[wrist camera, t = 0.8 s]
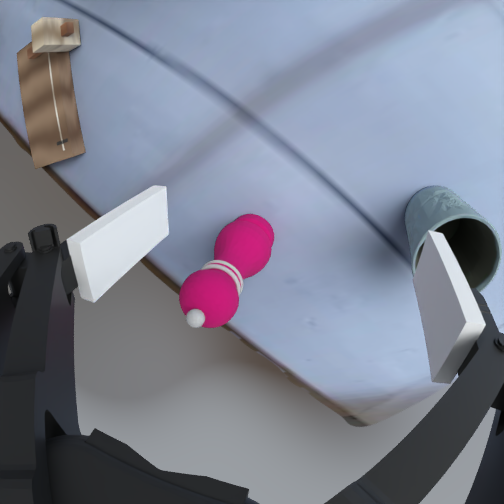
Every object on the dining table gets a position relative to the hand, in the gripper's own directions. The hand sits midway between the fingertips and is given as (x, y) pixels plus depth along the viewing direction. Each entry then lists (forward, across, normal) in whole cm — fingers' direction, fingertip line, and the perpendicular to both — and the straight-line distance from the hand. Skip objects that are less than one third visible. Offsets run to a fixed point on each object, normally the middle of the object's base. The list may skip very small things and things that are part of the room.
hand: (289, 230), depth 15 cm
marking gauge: (+26, -43, +17) cm, 53 cm away
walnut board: (+26, -47, +7) cm, 54 cm away
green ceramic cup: (+26, +16, -7) cm, 31 cm away
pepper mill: (+26, -8, -14) cm, 31 cm away
